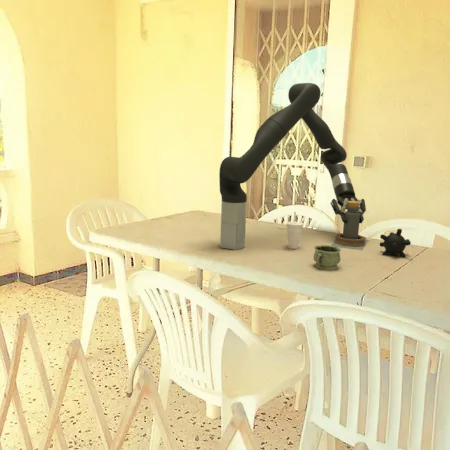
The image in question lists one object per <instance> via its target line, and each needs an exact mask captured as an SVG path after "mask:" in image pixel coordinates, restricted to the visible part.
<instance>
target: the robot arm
mask: <svg viewBox="0 0 450 450" xmlns="http://www.w3.org/2000/svg"><path fill="white" fill-rule="evenodd" d="M320 98H321V89H320V87H319V85H317V84H316V83H312V82H300V83H294V84H293V85H291V87H290V88H289V89H288V101H289V103H290V104H289V105H288V106H286V107H284V108H282V109H280V110H279V111H277V112H275V113H273V114H272V115H270V116H269V117H268V118H267V119H265V121H264V122H263V123H262V124H261V125H260V126H259V127H258V129H257V130H256V133H255V134H254V135H255V136H254V139H253V143H252V145H251V146H250V148H249V149H248V150H247V151H246V152H245V153H244V154H243V155H241V156H239V157H237V156H227V157H225V158H224V159H223V160H222V161H221V163H220V166H219V173H218V175H219V178H218V179H219V193H220V195H221V196H220V197H221V206H220V207H221V208H220V209H221V211H220V238H219V239H220V241H219V242H220V243H219V247H220V248H221V249H228V250H235V251H237V250H239V249H244V248H245V246H246V225H247V224H246V223H247V199H248V195H247V193H246V192H245V191H244V190H243V188H242V186H241V185H242V184H244V183H247V182H248V181H249V180H250V179H251V177H252V176H253V175H254V174H255V172H256V171H257V169H259V166H260V165H261V164H262V162H264V160H265V159H266V158H267V156H268V155H269V154H270V153H271V152H272V151H273V150H274V149H275V148H276V147H277V146H278V144H280V143H281V141H282V140H283V139H284V138H285V137H286V136H287V134H288V133H289V132H290V131H291V130H292V129H293V128H294V127H295V125H297V123H298V122H299V121H300V120H301V119H302V120H303V122H304V123H305V124H306V126H307V127H308V129H309V131H310V132H311V134H312V136H313V138H314V139H315V141H316V144H317V146H318V147H319V148H320V149H321V150H324V151H323V152H322V153H321V154H320V160H321V163H322V164H323V165H324V167H325V168H326V169H327V171H328V173H329V175H330V178H331V184H332V189H333V190H334V191H333V192H334V195H335V198H332V200H331V202H330V203H329V204H330V205H331V208H332V210H333V212H334V214H335V215H339V216H340V218H341V222H343V224H344V223H347V221H348V219H347V216H346V213H345V212H346V210H347V209H346V206H348V204H347V201H358V202H360V203H359V207H360V209H359V210H358V212H359V213H360V221H359V224H362V223H364V220H365V218H364V214H365V213H366V211H367V208H366V202H365V200H366V199H364V198H361V199H358V198H357V197H356V193H355V192H356V191H355V189H354V186H353V182H352V179H351V177H350V176H349V173H348V169H347V167H346V165H345V164H343V163H342V162H344V161H346V160H347V156H348V154H347V151H346V150H345V148H344V147H343V146H342V145H341V144H340V143H339V142H338V141H337V140H336V139H335V136H334V135H333V133H332V131H331V128H330V127H329V125H328V124H327V123H326V121H325V120H324V119H322V118H321V116H319V114H318V113H316V111H315V110H314V109H313V108H315V107H316V105H317V104H318V103H319V100H320ZM339 206H340V207H339Z"/></svg>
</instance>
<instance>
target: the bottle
mask: <svg viewBox="0 0 450 450" xmlns="http://www.w3.org/2000/svg"><path fill="white" fill-rule="evenodd" d="M359 203H360V202H358V201H347V204H348V206H346V209H345V212H344V213H346V216H347V219H348V221H347V223H344V222H343V230H342V234H343V238H345V239H353V240H354V239H358V235H359V230H360V223H359V221H360V213H359V211H358V210H359V209H360V206H359Z"/></svg>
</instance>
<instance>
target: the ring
mask: <svg viewBox="0 0 450 450" xmlns="http://www.w3.org/2000/svg"><path fill="white" fill-rule="evenodd" d="M365 240H367V238H366V236H363V235H360V234H358V239H354V240H353V239H345V238H343V233H337V234H336V235H335V237H334V241H335V243H337V244H340V245H343V246H350V247H359V246H364V245H365ZM365 246H366V245H365Z"/></svg>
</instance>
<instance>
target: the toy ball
mask: <svg viewBox="0 0 450 450" xmlns="http://www.w3.org/2000/svg"><path fill="white" fill-rule="evenodd" d="M402 232H403V230H402V229H401V228H397V231H396V232H395V233H394V232H390V233H389V234H388V235H385V234H384V233H383V234H380V239H381V240H383V241H382V242H381V241H380V242H379V246H380V247H381V248H384V249H385V250H384V251H383V252H382V256H385V257H386V256H388V255H389V254H390V255H399V256H400V257H401V258H403V259H404V258H406V254H405V253H404V250H405V249H406V247H407V246H410V245H411V243H412V242H411V241H410V239H405V237H404V236H403V235H402Z"/></svg>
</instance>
